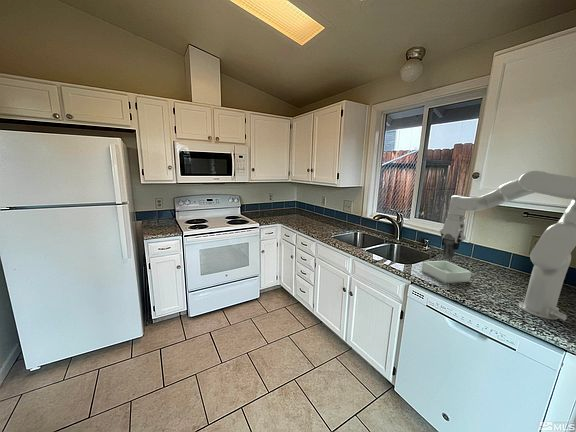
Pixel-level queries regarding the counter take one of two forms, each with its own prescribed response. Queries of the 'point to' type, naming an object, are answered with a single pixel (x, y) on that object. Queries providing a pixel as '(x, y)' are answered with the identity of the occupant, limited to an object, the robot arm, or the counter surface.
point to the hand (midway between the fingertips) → (449, 247)
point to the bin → (446, 272)
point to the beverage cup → (448, 246)
